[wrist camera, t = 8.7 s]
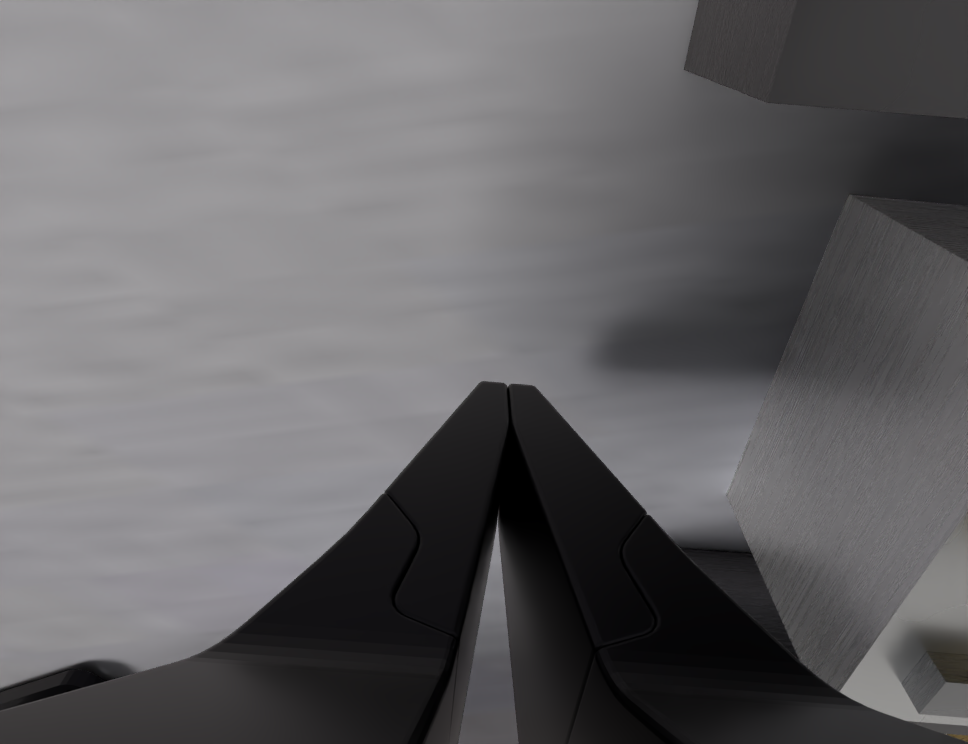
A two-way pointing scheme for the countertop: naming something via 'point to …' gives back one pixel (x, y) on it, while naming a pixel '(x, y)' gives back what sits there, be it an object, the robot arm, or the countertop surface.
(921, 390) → the block
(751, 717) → the robot arm
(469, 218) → the countertop surface
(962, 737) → the gold elongated piece
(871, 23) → the bracket
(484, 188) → the countertop surface
